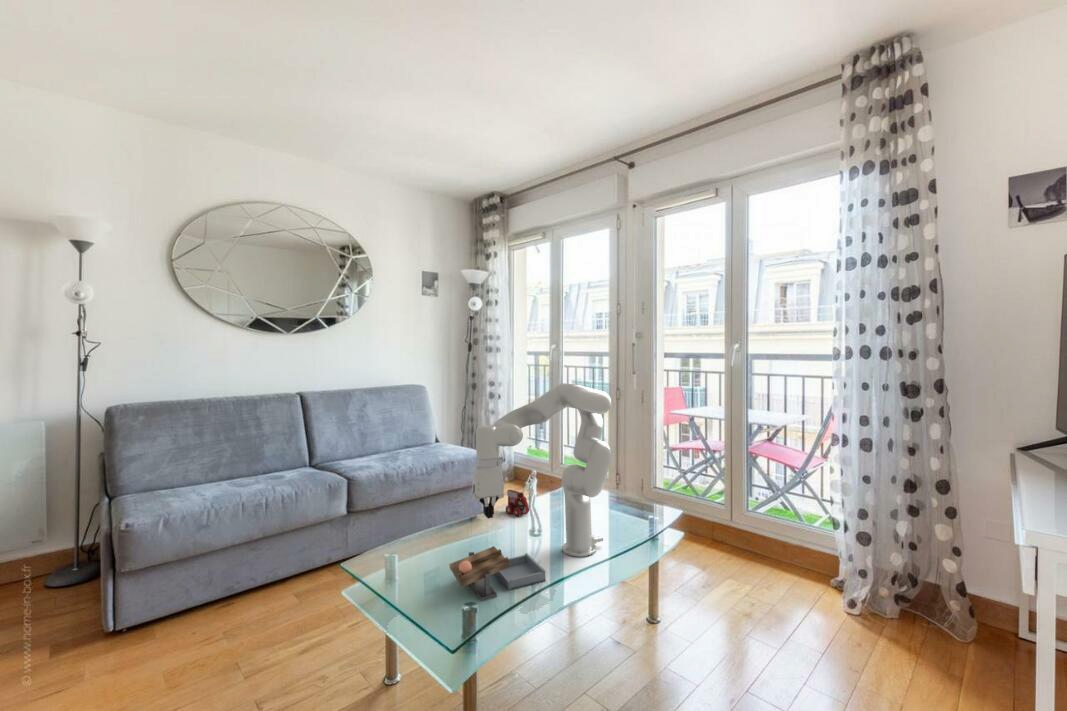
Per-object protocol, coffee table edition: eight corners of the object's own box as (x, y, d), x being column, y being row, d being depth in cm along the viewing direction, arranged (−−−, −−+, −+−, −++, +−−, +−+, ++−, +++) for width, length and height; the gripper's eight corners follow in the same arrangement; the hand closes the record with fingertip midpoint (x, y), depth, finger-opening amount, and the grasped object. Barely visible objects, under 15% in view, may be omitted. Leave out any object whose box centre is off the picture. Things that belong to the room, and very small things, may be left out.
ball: (470, 569, 149) (468, 556, 149) (474, 574, 146) (472, 561, 145) (458, 573, 148) (456, 560, 147) (461, 578, 144) (459, 566, 144)
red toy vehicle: (522, 518, 211) (521, 495, 211) (503, 513, 220) (502, 490, 220) (532, 514, 216) (532, 492, 216) (513, 509, 225) (513, 487, 225)
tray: (527, 562, 167) (526, 553, 167) (545, 581, 153) (545, 570, 153) (492, 570, 162) (492, 560, 162) (508, 590, 148) (508, 579, 148)
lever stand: (478, 571, 161) (477, 550, 161) (496, 597, 144) (495, 572, 144) (464, 575, 159) (463, 553, 159) (481, 601, 142) (480, 576, 142)
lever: (494, 549, 162) (492, 540, 162) (510, 567, 148) (508, 556, 148) (449, 568, 155) (447, 558, 155) (462, 588, 142) (459, 577, 142)
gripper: (504, 457, 165) (505, 510, 165) (463, 462, 159) (464, 517, 159) (512, 462, 158) (513, 516, 158) (469, 467, 152) (470, 524, 152)
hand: (489, 516), depth 159 cm, fingers closed
